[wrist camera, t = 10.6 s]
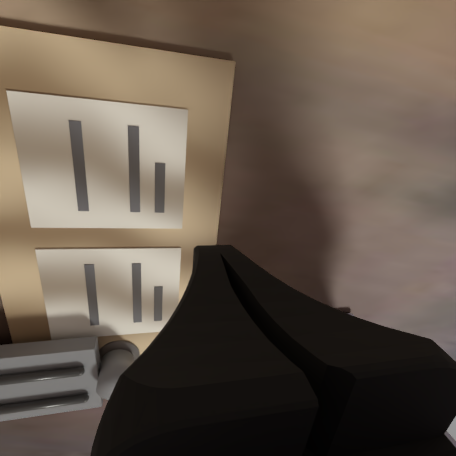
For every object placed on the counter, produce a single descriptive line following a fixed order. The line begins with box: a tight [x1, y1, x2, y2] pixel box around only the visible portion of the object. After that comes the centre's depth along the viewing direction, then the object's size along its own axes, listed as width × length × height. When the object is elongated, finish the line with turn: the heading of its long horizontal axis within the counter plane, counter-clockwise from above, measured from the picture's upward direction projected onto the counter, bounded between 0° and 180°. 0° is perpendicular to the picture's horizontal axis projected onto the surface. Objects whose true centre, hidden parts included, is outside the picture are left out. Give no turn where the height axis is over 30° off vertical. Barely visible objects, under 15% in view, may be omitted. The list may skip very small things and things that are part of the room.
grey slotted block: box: [0, 336, 134, 421], centre depth 21 cm, size 12×6×2 cm, turn 84°
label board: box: [0, 26, 236, 362], centre depth 19 cm, size 23×14×1 cm, turn 173°
